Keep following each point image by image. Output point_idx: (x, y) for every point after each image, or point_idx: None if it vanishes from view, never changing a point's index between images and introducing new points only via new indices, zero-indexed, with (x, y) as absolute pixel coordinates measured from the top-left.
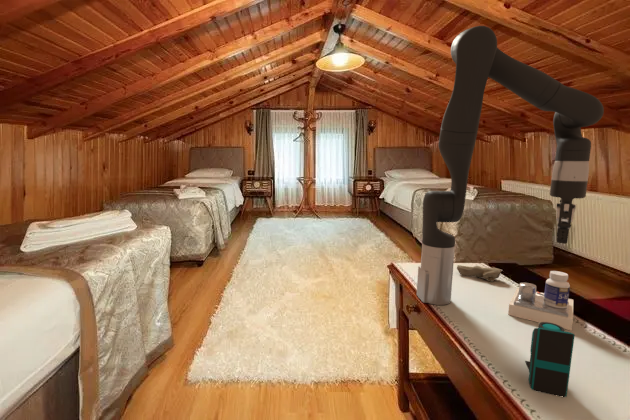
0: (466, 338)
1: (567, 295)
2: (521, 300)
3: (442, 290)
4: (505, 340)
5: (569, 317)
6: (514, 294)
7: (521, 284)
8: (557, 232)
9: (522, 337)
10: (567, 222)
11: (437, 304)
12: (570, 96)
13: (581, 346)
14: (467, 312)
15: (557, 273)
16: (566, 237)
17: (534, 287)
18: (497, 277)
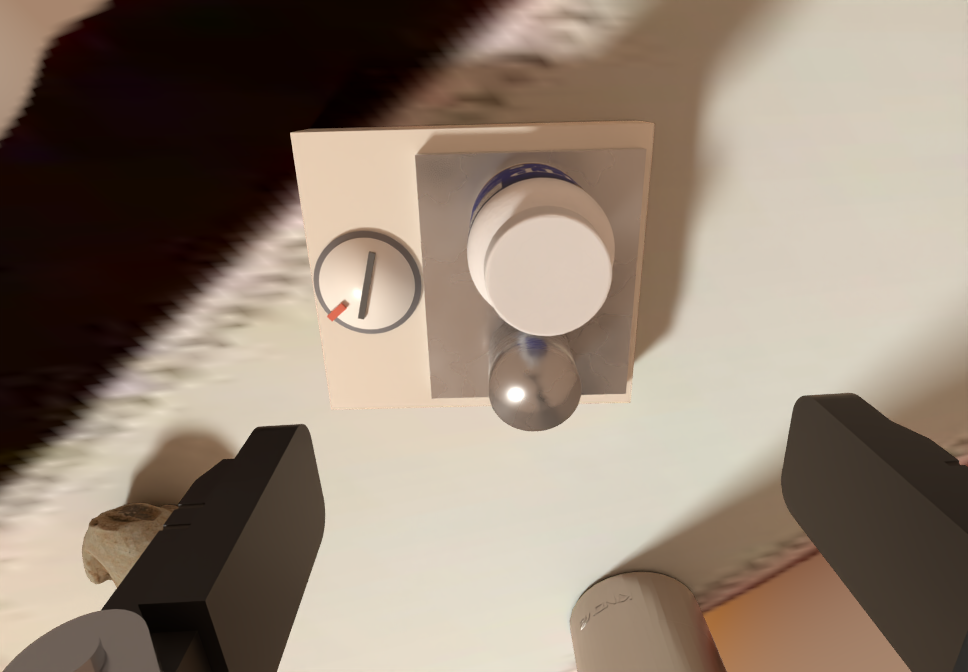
0: (951, 450)
1: (565, 177)
2: (579, 368)
3: (710, 643)
4: (903, 343)
5: (637, 141)
6: (454, 404)
7: (552, 420)
8: (307, 572)
9: (840, 295)
10: (160, 668)
11: (694, 597)
12: None
13: (807, 74)
14: (696, 501)
15: (569, 287)
16: (912, 456)
17: (563, 356)
18: (155, 507)
